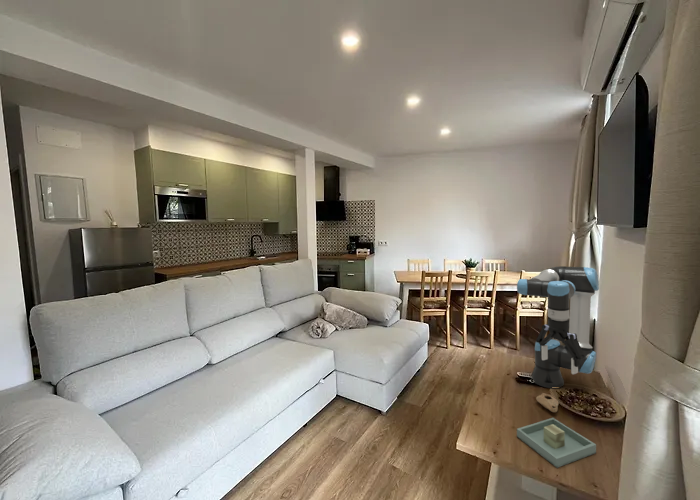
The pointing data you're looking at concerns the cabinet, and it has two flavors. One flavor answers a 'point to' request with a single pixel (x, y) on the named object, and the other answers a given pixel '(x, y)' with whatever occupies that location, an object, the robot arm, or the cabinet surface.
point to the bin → (561, 456)
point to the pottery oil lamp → (548, 402)
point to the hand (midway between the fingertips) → (558, 366)
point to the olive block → (554, 436)
